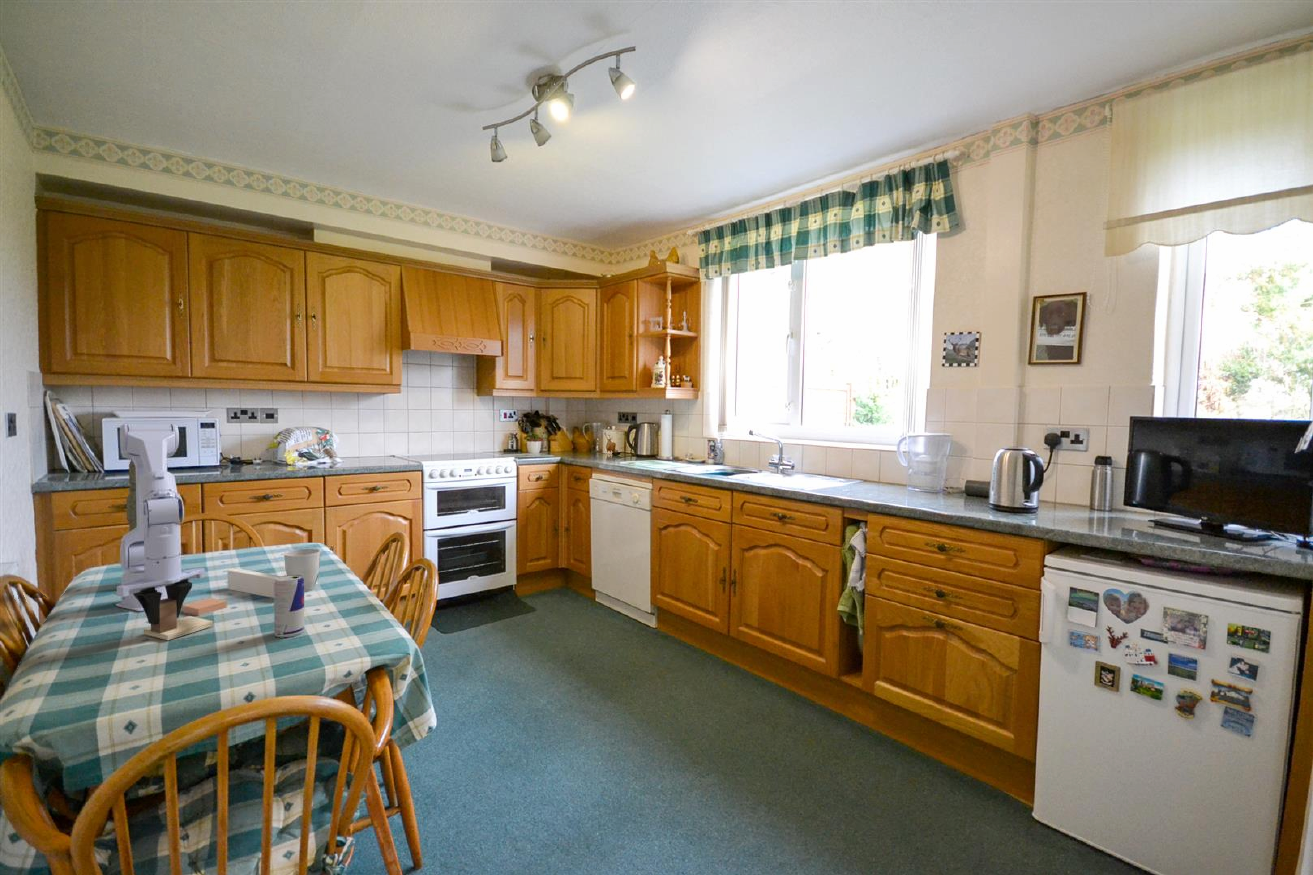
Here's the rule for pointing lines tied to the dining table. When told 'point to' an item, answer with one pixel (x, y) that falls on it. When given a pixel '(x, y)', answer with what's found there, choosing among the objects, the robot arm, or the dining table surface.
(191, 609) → the tile
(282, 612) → the energy drink
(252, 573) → the batten
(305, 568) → the cup
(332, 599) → the dining table surface
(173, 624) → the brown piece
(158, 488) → the robot arm
